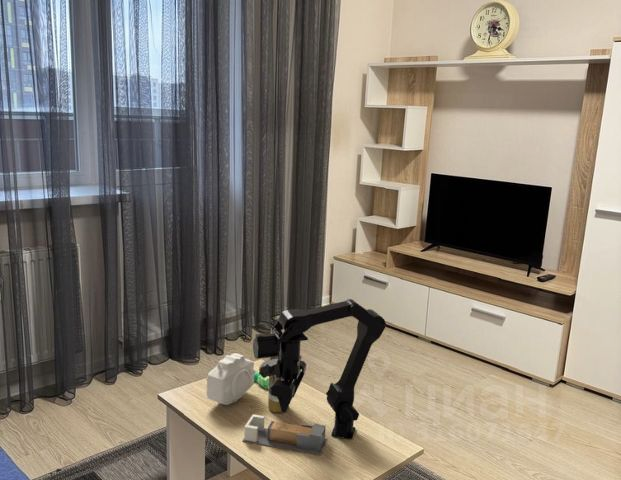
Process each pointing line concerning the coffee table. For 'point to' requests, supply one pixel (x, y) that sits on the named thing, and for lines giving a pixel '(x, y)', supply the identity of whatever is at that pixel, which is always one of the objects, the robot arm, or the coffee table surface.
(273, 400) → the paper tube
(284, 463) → the coffee table surface
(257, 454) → the coffee table surface
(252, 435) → the socket
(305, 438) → the sleeve
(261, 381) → the candy
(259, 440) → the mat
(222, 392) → the camera
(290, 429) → the tan wooden block
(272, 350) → the robot arm
